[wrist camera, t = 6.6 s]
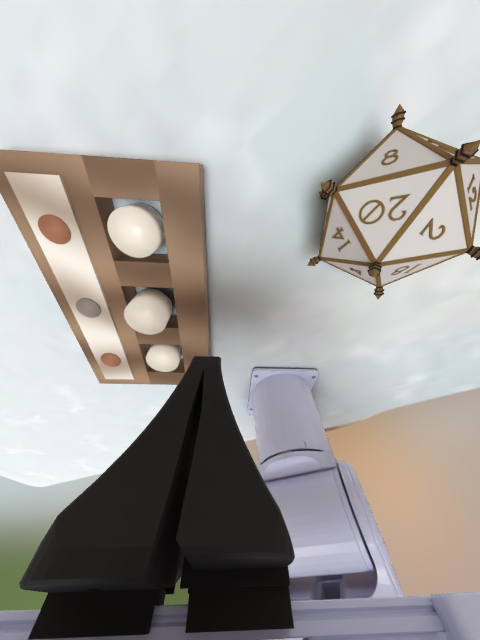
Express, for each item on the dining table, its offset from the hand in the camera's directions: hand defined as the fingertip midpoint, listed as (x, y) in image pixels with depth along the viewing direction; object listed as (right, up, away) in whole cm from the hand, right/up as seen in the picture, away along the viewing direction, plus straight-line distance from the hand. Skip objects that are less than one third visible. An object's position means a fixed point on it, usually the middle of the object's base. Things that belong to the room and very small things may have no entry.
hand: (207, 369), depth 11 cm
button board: (-7, +5, +8) cm, 12 cm away
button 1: (-5, +10, +4) cm, 12 cm away
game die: (+10, +11, +4) cm, 16 cm away
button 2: (-6, 0, +11) cm, 13 cm away
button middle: (-6, +4, +7) cm, 10 cm away
